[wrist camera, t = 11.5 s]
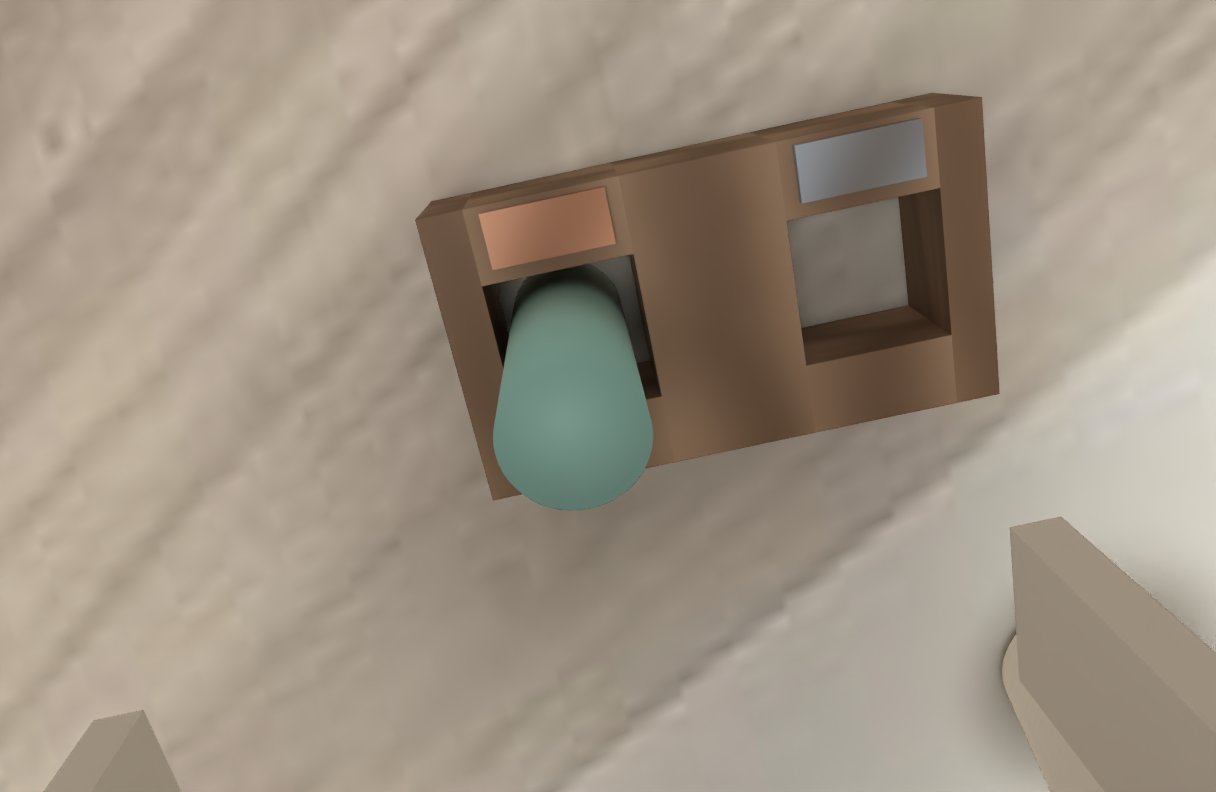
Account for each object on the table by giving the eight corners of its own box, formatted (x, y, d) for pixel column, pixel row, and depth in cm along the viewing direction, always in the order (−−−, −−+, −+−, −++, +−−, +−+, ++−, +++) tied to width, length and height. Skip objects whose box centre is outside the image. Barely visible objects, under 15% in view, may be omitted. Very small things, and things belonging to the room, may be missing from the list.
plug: (527, 373, 35) (514, 524, 24) (502, 272, 34) (475, 382, 22) (630, 351, 35) (666, 492, 24) (609, 249, 34) (636, 347, 22)
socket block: (499, 454, 36) (492, 504, 32) (431, 201, 33) (413, 221, 29) (952, 358, 36) (1003, 396, 32) (932, 93, 32) (985, 97, 28)
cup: (954, 759, 43) (1082, 983, 32) (956, 573, 39) (1101, 757, 29) (1166, 729, 43) (1362, 943, 32) (1187, 541, 39) (1413, 714, 29)
